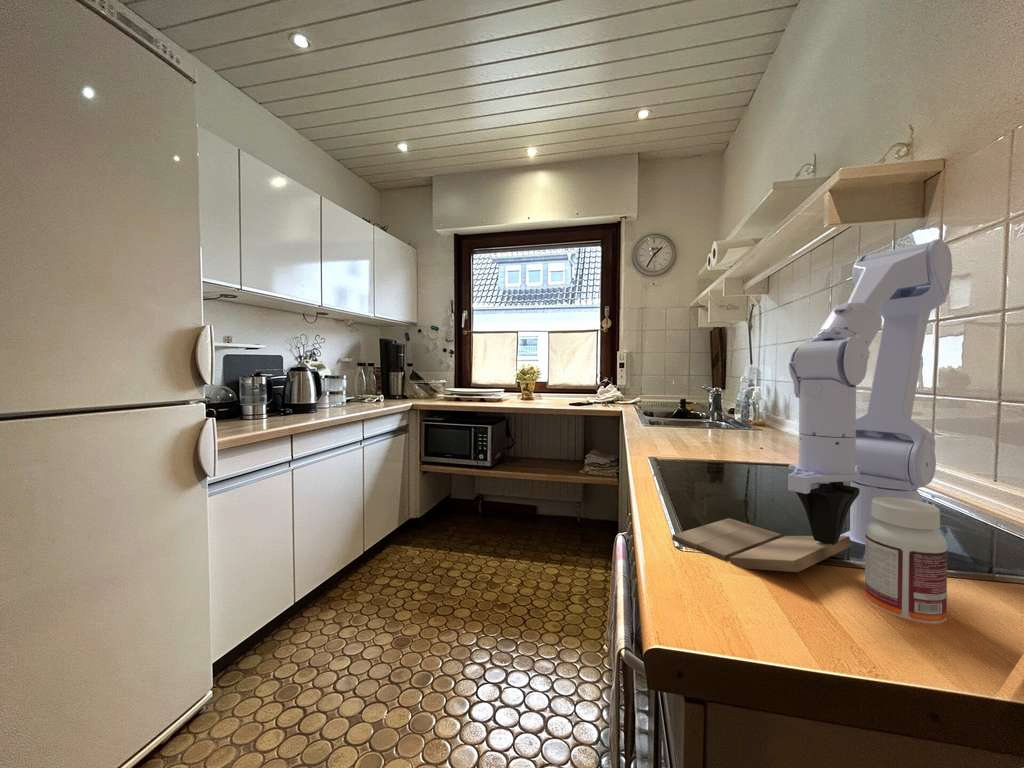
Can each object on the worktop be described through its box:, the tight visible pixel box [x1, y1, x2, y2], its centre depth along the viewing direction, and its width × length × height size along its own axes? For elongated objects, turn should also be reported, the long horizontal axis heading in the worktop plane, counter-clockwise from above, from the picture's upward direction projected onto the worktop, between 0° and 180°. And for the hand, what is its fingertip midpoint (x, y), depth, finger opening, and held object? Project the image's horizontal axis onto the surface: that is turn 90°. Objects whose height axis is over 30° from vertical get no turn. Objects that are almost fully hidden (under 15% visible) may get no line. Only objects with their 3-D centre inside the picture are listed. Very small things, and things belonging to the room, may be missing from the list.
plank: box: [728, 535, 853, 573], centre depth 53 cm, size 14×8×1 cm, turn 120°
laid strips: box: [671, 517, 782, 561], centre depth 60 cm, size 14×9×1 cm, turn 120°
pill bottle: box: [864, 497, 949, 624], centre depth 42 cm, size 6×6×11 cm
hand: (825, 541), depth 52 cm, fingers closed, pressing on plank
